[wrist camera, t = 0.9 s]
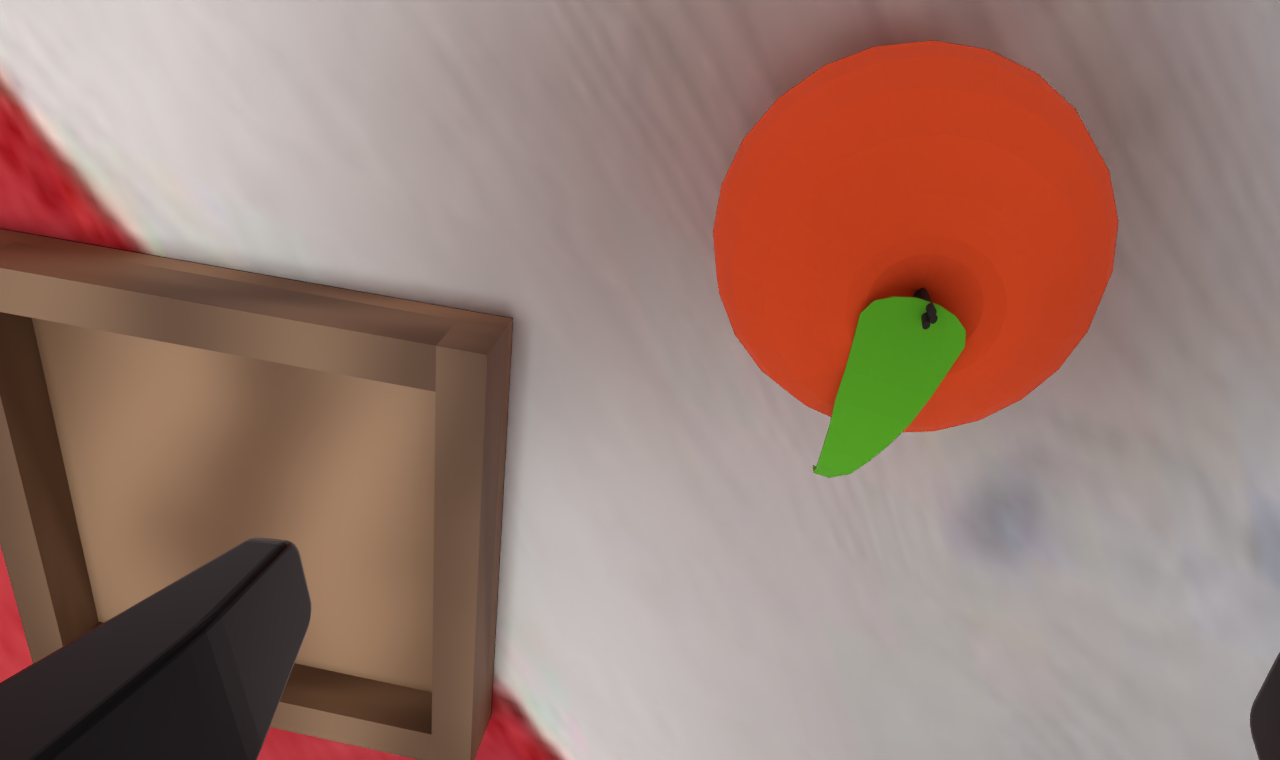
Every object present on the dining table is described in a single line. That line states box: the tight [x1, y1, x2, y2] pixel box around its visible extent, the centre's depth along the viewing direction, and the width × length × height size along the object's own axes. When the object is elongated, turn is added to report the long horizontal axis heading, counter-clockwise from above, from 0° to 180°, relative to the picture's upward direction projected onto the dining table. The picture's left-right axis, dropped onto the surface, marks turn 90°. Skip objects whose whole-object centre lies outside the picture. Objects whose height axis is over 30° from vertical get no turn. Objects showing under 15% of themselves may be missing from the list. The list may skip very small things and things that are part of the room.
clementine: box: [713, 40, 1118, 478], centre depth 17 cm, size 8×7×7 cm
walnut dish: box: [0, 229, 513, 760], centre depth 25 cm, size 14×14×2 cm
